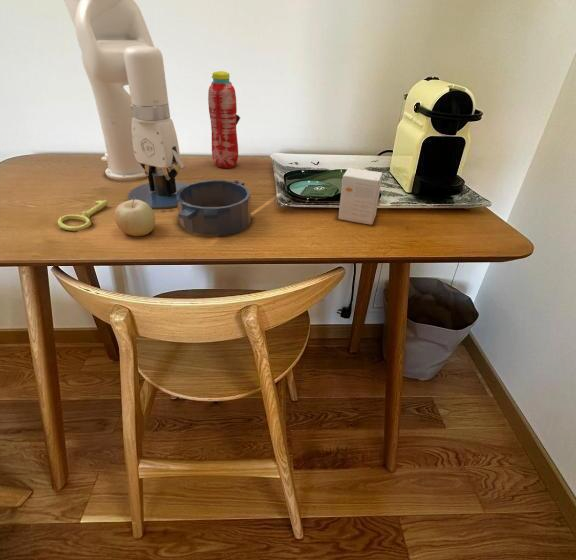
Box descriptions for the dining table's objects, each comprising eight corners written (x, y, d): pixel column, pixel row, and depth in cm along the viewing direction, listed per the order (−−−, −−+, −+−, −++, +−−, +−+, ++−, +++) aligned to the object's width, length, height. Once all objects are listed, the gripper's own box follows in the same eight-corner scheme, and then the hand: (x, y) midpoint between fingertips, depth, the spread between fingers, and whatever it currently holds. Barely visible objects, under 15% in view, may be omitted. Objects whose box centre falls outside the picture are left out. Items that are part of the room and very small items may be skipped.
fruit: (155, 223, 86) (149, 188, 81) (158, 239, 80) (152, 202, 76) (118, 227, 84) (110, 191, 79) (118, 244, 78) (109, 206, 73)
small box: (376, 215, 93) (383, 172, 87) (372, 225, 89) (380, 180, 83) (342, 209, 95) (348, 166, 89) (337, 219, 91) (342, 174, 85)
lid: (114, 201, 94) (108, 176, 91) (161, 180, 106) (157, 157, 103) (168, 217, 89) (164, 191, 85) (211, 193, 101) (209, 169, 97)
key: (111, 207, 91) (109, 198, 90) (86, 232, 81) (83, 223, 80) (80, 205, 92) (78, 197, 90) (51, 230, 81) (48, 221, 80)
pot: (156, 231, 83) (151, 202, 79) (214, 197, 98) (212, 172, 95) (217, 249, 78) (215, 220, 74) (268, 211, 93) (268, 185, 89)
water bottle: (222, 156, 125) (216, 67, 111) (246, 159, 123) (244, 69, 109) (206, 168, 115) (199, 72, 101) (233, 172, 114) (228, 74, 99)
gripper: (109, 110, 86) (126, 189, 97) (170, 121, 80) (181, 204, 91) (135, 104, 92) (148, 180, 102) (193, 114, 86) (201, 193, 96)
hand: (163, 191), depth 96 cm, fingers closed on lid, 4 cm apart
